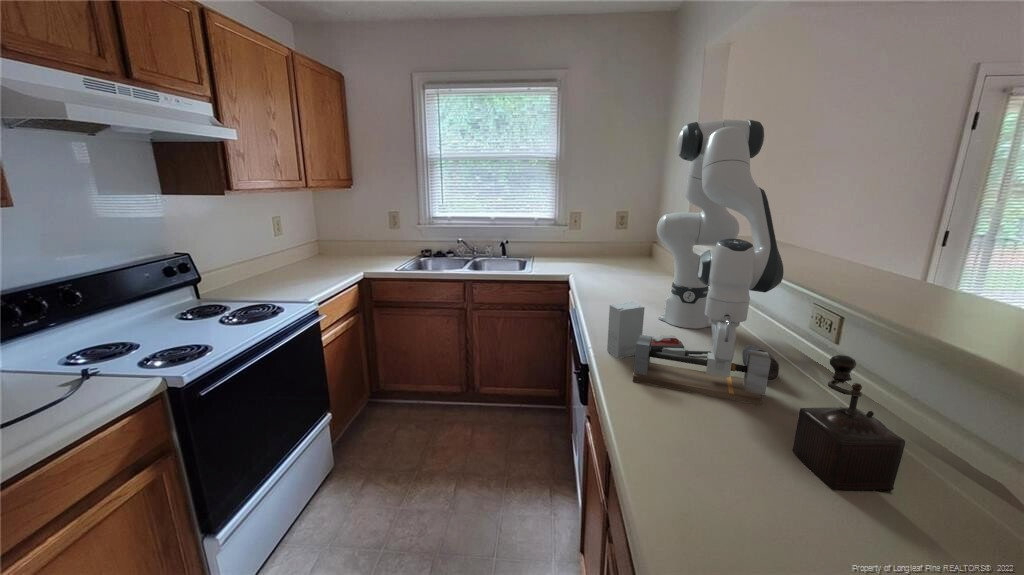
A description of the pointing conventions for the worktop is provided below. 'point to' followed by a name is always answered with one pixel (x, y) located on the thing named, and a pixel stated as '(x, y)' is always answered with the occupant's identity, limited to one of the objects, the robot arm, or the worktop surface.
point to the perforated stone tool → (773, 365)
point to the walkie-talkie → (672, 346)
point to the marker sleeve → (712, 371)
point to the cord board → (703, 374)
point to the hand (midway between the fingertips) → (718, 364)
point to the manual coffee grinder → (847, 441)
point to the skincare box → (624, 328)
